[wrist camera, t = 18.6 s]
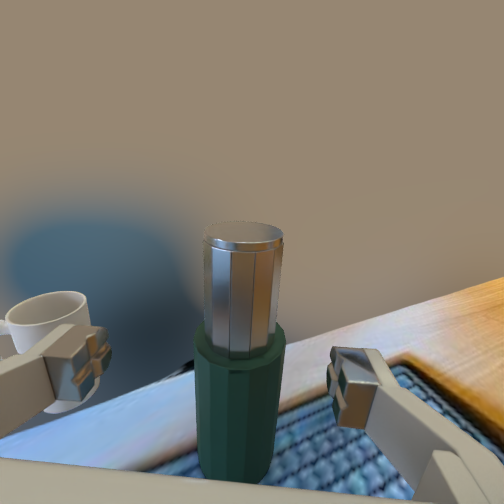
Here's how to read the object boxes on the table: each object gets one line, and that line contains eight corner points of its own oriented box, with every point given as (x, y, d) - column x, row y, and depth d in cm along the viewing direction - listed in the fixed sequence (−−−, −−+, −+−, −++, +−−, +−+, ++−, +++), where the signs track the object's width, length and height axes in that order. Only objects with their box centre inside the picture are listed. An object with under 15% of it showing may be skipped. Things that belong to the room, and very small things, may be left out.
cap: (270, 316, 24) (278, 222, 21) (277, 360, 19) (289, 244, 16) (210, 314, 24) (209, 219, 21) (200, 358, 18) (197, 240, 15)
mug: (108, 365, 35) (93, 288, 31) (94, 409, 29) (74, 320, 25) (19, 379, 32) (-9, 296, 28) (-16, 430, 26) (-59, 335, 22)
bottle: (268, 413, 30) (282, 273, 23) (276, 492, 23) (299, 322, 16) (204, 412, 29) (201, 270, 23) (191, 492, 22) (182, 319, 16)
